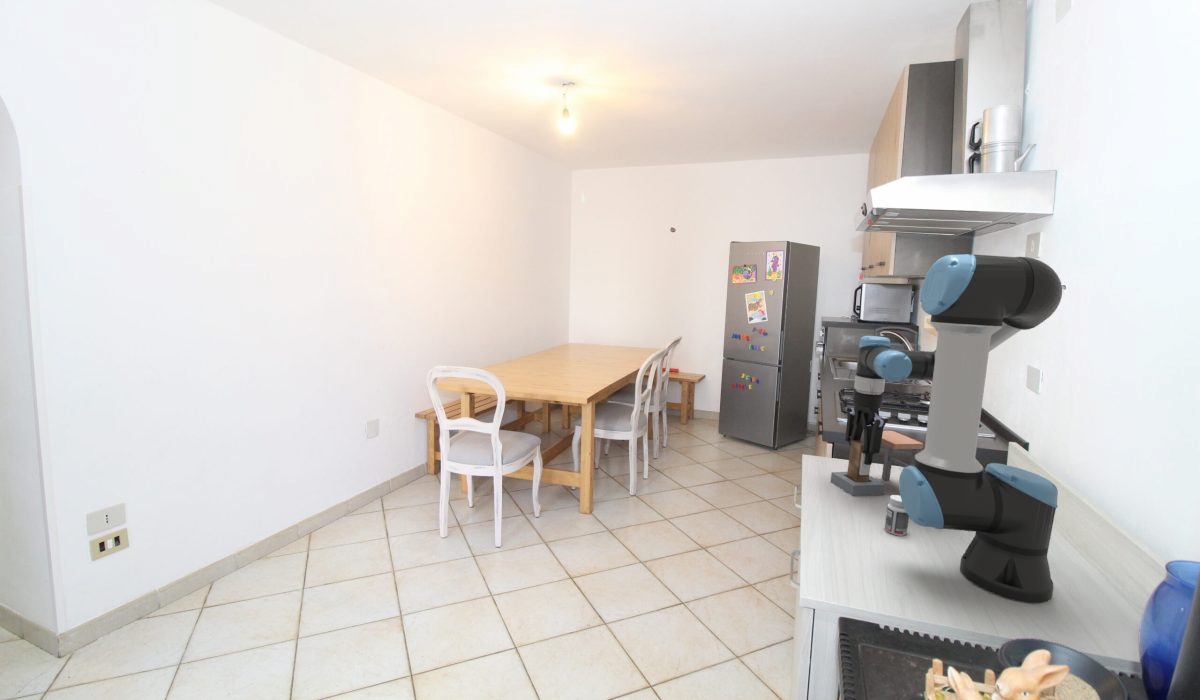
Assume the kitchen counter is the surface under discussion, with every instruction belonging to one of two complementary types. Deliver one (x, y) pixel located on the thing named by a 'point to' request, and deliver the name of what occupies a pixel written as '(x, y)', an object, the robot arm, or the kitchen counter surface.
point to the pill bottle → (896, 517)
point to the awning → (897, 442)
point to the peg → (856, 462)
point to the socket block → (857, 485)
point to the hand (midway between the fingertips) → (858, 471)
